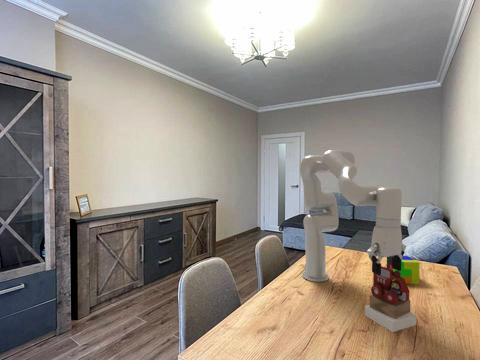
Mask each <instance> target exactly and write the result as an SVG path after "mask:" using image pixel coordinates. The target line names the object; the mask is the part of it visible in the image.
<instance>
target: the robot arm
mask: <svg viewBox="0 0 480 360" xmlns="http://www.w3.org/2000/svg"><path fill="white" fill-rule="evenodd" d="M355 162H356V158H355V155H354V154H353V152H352V151H349V150H346V149H345V150H344V149H329V150H327V151H325V152H324V153H323V154H322V155H316V154H314V155H313V154H311V155H306V156H304V158H302V159H301V161H300V164H299V172H300V176H301V181H302V186H303V199H304V205H305V208H306V209H307V210H309V211H323V212H313V213H308V214H306V215H305V216H304V218H303V219H302V220H303V229H304V230H303V231H304V235H305V236H304V237H305V238H304V239H305V242H304V244H305V264H304V265H302V268H303V269H304V271H303V272H302V278H303V279H305V280H306V279H307V281H310V282H315V283H322V282H327V281H329V279H330V278H329V277H330V275H329V274H328V273H327V272H326V271H327V270H326V268H327V267H326V263H327V261H326V257H327V256H326V251H327V249H326V248H327V247H326V240H325V237H324V236H323V234H322V233H327V232H329V233H331V232H334V231H336V230H338V227H339V220H340V219H339V210H338V202H337V198H336V196H335V194H334V193H333V192H332V191H330V190H322V184H321V180H320V178H319V177H318V176H317V174H316V173H318V174H319V173H322V174H325V173H328V174H331V173H332V175H334V176H335V178H337V180H338V181H337V182H338V183H337V184H338V188H339V192H340V193H341V195H342V196H343V197H344V199H346V200H347V201H348V203H350V204H352V205H353V206H355V207H368V206H370V207H373V206H374V207H375V206H376V209H375V226H374V227H373V231H372V235H371V246H370V248H368V249H367V250H366V252H367V254H368V258H369V259H370V261H371V272H372V274H373V273H375V274H378V275H381V266H382V263H381V261H382V259H383V258H387V257H390V256H394V257H392V268H393V269H395V270H398V271H401V261H402V259H403V256H405V255H404V254H405V251H406V249H407V246H406V244H404V243H403V235H402V227H401V226H402V225H401V224H402V222H401V221H402V198H403V197H402V193H403V192H402V190H401V189H400V188H399V187H392V186H391V187H390V186H389V187H386V186H382V185H372V184H370V185H359V184H357V183H356V182H355V181H354V180H353V179H355V177H356V176H357V173H358V168H357V166H356V165H354V164H355Z"/></svg>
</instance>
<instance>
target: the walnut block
mask: <svg viewBox="0 0 480 360" xmlns="http://www.w3.org/2000/svg"><path fill="white" fill-rule="evenodd" d="M369 305H370V308H372V309H374V310H376V311H379V312H381V313H383V314H385V315H387V316H390V317H392V318H394V319H397V318H399V317H401V316H403V315H405V314H407V313H409V312H411V299H409V301H406V302H404V301H401V300H398V302H397V303H396V304H390V303H388V302H387V301H386V299H385V294H384V295H383V296H382V297H380V298H376V297H375V296H373V294H371V295H370V296H369Z"/></svg>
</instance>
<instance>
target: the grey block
mask: <svg viewBox="0 0 480 360" xmlns="http://www.w3.org/2000/svg"><path fill="white" fill-rule="evenodd" d="M364 316H365V317H367V318H369V319H370V320H372V321H373V322H375V323H377V324H378V325H380V326H382V327H383V328H385V329H387V330H388V331H389V332H391V331H392V332H391V333H394V332H399V331H402V330H405V329H409V328H411V327H414V326H416V325H417V314H416V313H414V312H412V311H410V312H409V313H407V314H405V315H403V316H401V317H399V318H397V319H394V318H392V317H390V316H387V315H385V314H383V313H381V312H379V311H376V310H374V309H372V308H370V304H367V305H365V306H364ZM404 328H405V329H404ZM401 329H402V330H401ZM398 330H399V331H398Z"/></svg>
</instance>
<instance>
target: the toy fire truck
mask: <svg viewBox="0 0 480 360" xmlns="http://www.w3.org/2000/svg"><path fill="white" fill-rule="evenodd" d="M372 275H373V276H372V279H373V280H372V286H371V288H370V291H371V295H373V296H375V297H376V298H380V297H382V296H383V295H384V294H385V299H386V301H387V302H388V303H390V304H396V303H397V302H398V300H401V301H404V302H406V301H409V300H410V289H409V287H408V284H406V282H405V279H404V278H403V277H400V276H401V273H400V272H399V271H393V270H391V269H389V268H387V267H386V266H383V265H381V275H378V274H375V273H373V272H372ZM393 280H394V281H393Z"/></svg>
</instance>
